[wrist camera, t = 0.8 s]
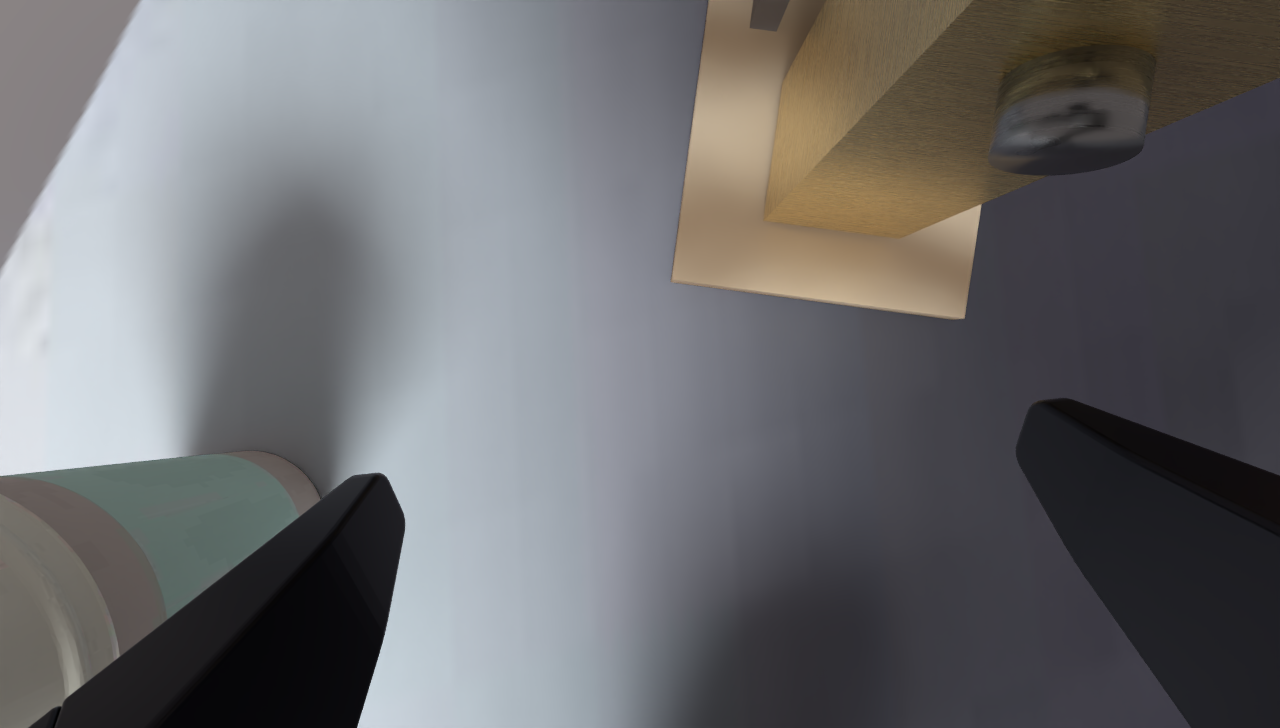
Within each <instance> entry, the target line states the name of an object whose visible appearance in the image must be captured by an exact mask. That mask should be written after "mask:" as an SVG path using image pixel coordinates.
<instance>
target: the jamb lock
mask: <svg viewBox="0 0 1280 728" xmlns="http://www.w3.org/2000/svg"><path fill="white" fill-rule="evenodd" d="M825 1H826V0H708V8H707V15H706V23H705V30H704V38H703V45H702V53H701V60H700V67H699V75H698V82H697V90H696V97H695V105H694V112H693V120H692V127H691V134H690V142H689V149H688V157H687V164H686V172H685V179H684V187H683V194H682V202H681V209H680V216H679V224H678V231H677V239H676V246H675V254H674V261H673V269H672V276H671V282H674V283H681V284H689V285H696V286H704V287H711V288H719V289H726V290H734V291H741V292H749V293H756V294H764V295H771V296H779V297H786V298H794V299H801V300H809V301H816V302H824V303H831V304H839V305H846V306H854V307H861V308H869V309H876V310H884V311H891V312H899V313H906V314H914V315H921V316H929V317H936V318H944V319H951V320H954V319H964V318H965V311H966V304H967V298H968V291H969V284H970V278H971V271H972V264H973V258H974V251H975V244H976V238H977V231H978V224H979V218H980V211H981V204H980V205H978V206H976V207H973V208H971V209H969V210H966V211H964V212H962V213H959V214H957V215H954V216H952V217H950V218H947V219H945V220H943V221H940V222H938V223H936V224H933V225H931V226H929V227H926V228H924V229H921V230H919V231H917V232H914V233H912V234H910V235H907V236H905V237H903V238H900V239H897V238H889V237H882V236H874V235H867V234H859V233H852V232H844V231H837V230H829V229H822V228H814V227H807V226H799V225H792V224H784V223H777V222H769V221H763V219H764V212H765V205H766V197H767V190H768V183H769V176H770V168H771V161H772V154H773V147H774V140H775V132H776V125H777V118H778V111H779V104H780V96H781V89H782V82H783V81H784V79H785V77H786V75H787V73H788V71H789V69H790V67H791V65H792V64H793V62H794V60H795V58H796V56H797V54H798V52H799V50H800V48H801V47H802V45H803V43H804V41H805V39H806V37H807V35H808V33H809V31H810V30H811V28H812V26H813V24H814V22H815V20H816V18H817V16H818V14H819V13H820V11H821V9H822V7H823V5H824V3H825Z"/></svg>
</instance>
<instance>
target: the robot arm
mask: <svg viewBox="0 0 1280 728" xmlns="http://www.w3.org/2000/svg"><path fill="white" fill-rule="evenodd" d="M1016 457H1017V461H1018V463H1019V466H1020V467H1021V469H1022V471H1023V473H1024V474H1025V476H1026V478H1027V480H1028V481H1029V483H1030V485H1031V487H1032V489H1033V490H1034V492H1035V494H1036V496H1037V497H1038V499H1039V501H1040V503H1041V504H1042V506H1043V508H1044V510H1045V511H1046V513H1047V515H1048V517H1049V518H1050V520H1051V522H1052V524H1053V525H1054V527H1055V529H1056V531H1057V533H1058V534H1059V536H1060V538H1061V540H1062V541H1063V543H1064V545H1065V546H1066V548H1067V550H1068V551H1069V553H1070V555H1071V556H1072V558H1073V560H1074V561H1075V563H1076V564H1077V566H1078V567H1079V569H1080V570H1081V572H1082V573H1083V575H1084V576H1085V578H1086V579H1087V581H1088V582H1089V583H1090V585H1091V586H1092V588H1093V589H1094V590H1095V592H1096V593H1097V595H1098V596H1099V598H1100V599H1101V600H1102V602H1103V603H1104V605H1105V606H1106V607H1107V609H1108V610H1109V612H1110V613H1111V615H1112V616H1113V617H1114V619H1115V620H1116V622H1117V623H1118V624H1119V626H1120V627H1121V629H1122V630H1123V632H1124V633H1125V634H1126V636H1127V637H1128V639H1129V640H1130V641H1131V643H1132V644H1133V646H1134V647H1135V649H1136V650H1137V651H1138V653H1139V654H1140V656H1141V657H1142V658H1143V660H1144V661H1145V663H1146V664H1147V665H1148V667H1149V668H1150V670H1151V671H1152V673H1153V674H1154V675H1155V677H1156V678H1157V680H1158V681H1159V682H1160V684H1161V685H1162V687H1163V688H1164V690H1165V691H1166V692H1167V694H1168V695H1169V697H1170V698H1171V699H1172V701H1173V702H1174V704H1175V705H1176V707H1177V708H1178V709H1179V711H1180V712H1181V714H1182V715H1183V716H1184V718H1185V719H1186V721H1187V722H1188V724H1189V725H1190V726H1191V728H1280V476H1279V475H1276V474H1274V473H1271V472H1268V471H1266V470H1263V469H1260V468H1257V467H1255V466H1252V465H1249V464H1247V463H1244V462H1241V461H1238V460H1236V459H1233V458H1230V457H1227V456H1225V455H1222V454H1219V453H1217V452H1214V451H1211V450H1208V449H1206V448H1203V447H1200V446H1197V445H1195V444H1192V443H1189V442H1187V441H1184V440H1181V439H1178V438H1176V437H1173V436H1170V435H1168V434H1165V433H1162V432H1159V431H1157V430H1154V429H1151V428H1148V427H1146V426H1143V425H1140V424H1138V423H1135V422H1132V421H1129V420H1127V419H1124V418H1121V417H1118V416H1116V415H1113V414H1110V413H1108V412H1105V411H1102V410H1099V409H1097V408H1094V407H1091V406H1089V405H1086V404H1083V403H1080V402H1078V401H1075V400H1072V399H1068V398H1058V399H1049V400H1040V401H1037V402H1035V403H1033V404H1032V405H1031V406H1030V407H1029V409H1028V412H1027V415H1026V418H1025V421H1024V424H1023V427H1022V430H1021V433H1020V436H1019V439H1018V442H1017V445H1016ZM404 533H405V518H404V514H403V511H402V509H401V506H400V504H399V502H398V500H397V498H396V495H395V493H394V491H393V489H392V487H391V484H390V482H389V480H388V479H387V477H386V476H385V475H384V474H381V473H370V474H361V475H355V476H352V477H350V478H348V479H347V480H345V481H344V482H343V483H342V484H340V485H339V486H338V487H337V488H335V489H334V490H333V491H331V492H330V493H329V494H328V495H326V496H325V497H324V498H322V499H321V500H320V501H319V502H317V503H316V504H315V505H313V506H312V507H311V508H310V509H308V510H307V511H306V512H304V513H303V514H302V515H301V516H299V517H298V518H297V519H295V520H294V521H293V522H292V523H290V524H289V525H288V526H286V527H285V528H284V529H283V530H281V531H280V532H279V533H277V534H276V535H275V536H274V537H272V538H271V539H270V540H268V541H267V542H266V543H265V544H263V545H262V546H261V547H259V548H258V549H257V550H256V551H254V552H253V553H252V554H251V555H249V556H248V557H247V558H245V559H244V560H243V561H242V562H240V563H239V564H238V565H236V566H235V567H234V568H233V569H231V570H230V571H229V572H227V573H226V574H225V575H224V576H222V577H221V578H220V579H218V580H217V581H216V582H215V583H213V584H212V585H211V586H209V587H208V588H207V589H206V590H204V591H203V592H202V593H200V594H199V595H198V596H197V597H195V598H194V599H193V600H191V601H190V602H189V603H188V604H186V605H185V606H184V607H182V608H181V609H180V610H179V611H177V612H176V613H175V614H173V615H172V616H171V617H170V618H168V619H167V620H166V621H164V622H163V623H162V624H161V625H159V626H158V627H157V628H155V629H154V630H153V631H152V632H150V633H149V634H148V635H146V636H145V637H144V638H143V639H141V640H140V641H139V642H137V643H136V644H135V645H134V646H132V647H131V648H130V649H128V650H127V651H126V652H125V653H123V654H122V655H121V656H119V657H118V658H117V659H116V660H114V661H113V662H112V663H111V664H109V665H108V666H107V667H105V668H104V669H103V670H102V671H100V672H99V673H98V674H96V675H95V676H94V677H93V678H91V679H90V680H89V681H87V682H86V683H85V684H84V685H82V686H81V687H80V688H78V689H77V690H76V691H75V692H73V693H72V694H71V695H69V696H68V697H67V698H66V699H65V700H64V701H63V703H62V706H56V707H54V708H52V709H51V710H50V711H49V712H47V713H46V714H45V715H43V716H42V717H41V718H40V719H38V720H37V721H36V722H35V723H33V724H32V725H31V726H29V727H28V728H357V726H358V723H359V719H360V716H361V713H362V709H363V706H364V703H365V700H366V696H367V693H368V690H369V686H370V683H371V680H372V676H373V673H374V670H375V667H376V663H377V660H378V657H379V653H380V650H381V646H382V643H383V639H384V635H385V631H386V626H387V622H388V617H389V612H390V607H391V601H392V596H393V591H394V585H395V580H396V575H397V570H398V564H399V559H400V554H401V548H402V543H403V538H404Z"/></svg>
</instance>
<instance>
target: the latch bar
mask: <svg viewBox="0 0 1280 728" xmlns="http://www.w3.org/2000/svg"><path fill="white" fill-rule="evenodd" d="M1277 78H1280V0H826V1H825V3H824V5H823V7H822V9H821V11H820V13H819V14H818V16H817V18H816V20H815V22H814V24H813V26H812V28H811V30H810V31H809V33H808V35H807V37H806V39H805V41H804V43H803V45H802V47H801V48H800V50H799V52H798V54H797V56H796V58H795V60H794V62H793V64H792V65H791V67H790V69H789V71H788V73H787V75H786V77H785V79H784V81H783V82H782V89H781V96H780V104H779V111H778V118H777V125H776V132H775V140H774V147H773V154H772V161H771V168H770V176H769V183H768V190H767V197H766V205H765V212H764V219H763V221H769V222H777V223H784V224H792V225H799V226H807V227H814V228H822V229H829V230H837V231H844V232H852V233H859V234H867V235H874V236H882V237H889V238H897V239H900V238H903V237H905V236H907V235H910V234H912V233H914V232H917V231H919V230H921V229H924V228H926V227H929V226H931V225H933V224H936V223H938V222H940V221H943V220H945V219H947V218H950V217H952V216H954V215H957V214H959V213H962V212H964V211H966V210H969V209H971V208H973V207H976V206H978V205H980V204H983V203H985V202H987V201H990V200H992V199H995V198H997V197H999V196H1002V195H1004V194H1006V193H1009V192H1011V191H1013V190H1016V189H1018V188H1020V187H1023V186H1025V185H1028V184H1030V183H1032V182H1035V181H1037V180H1039V179H1042V178H1044V177H1046V176H1049V175H1065V174H1075V173H1082V172H1089V171H1094V170H1099V169H1103V168H1107V167H1110V166H1114V165H1117V164H1120V163H1122V162H1125V161H1127V160H1129V159H1131V158H1133V157H1135V156H1136V155H1137V154H1139V153H1140V152H1141V151H1142V149H1143V146H1144V140H1145V134H1148V133H1150V132H1152V131H1155V130H1157V129H1160V128H1162V127H1164V126H1167V125H1169V124H1171V123H1174V122H1176V121H1178V120H1181V119H1183V118H1185V117H1188V116H1190V115H1193V114H1195V113H1197V112H1200V111H1202V110H1204V109H1207V108H1209V107H1211V106H1214V105H1216V104H1218V103H1221V102H1223V101H1226V100H1228V99H1230V98H1233V97H1235V96H1237V95H1240V94H1242V93H1244V92H1247V91H1249V90H1251V89H1254V88H1256V87H1259V86H1261V85H1263V84H1266V83H1268V82H1270V81H1273V80H1275V79H1277Z"/></svg>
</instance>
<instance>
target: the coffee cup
mask: <svg viewBox="0 0 1280 728" xmlns="http://www.w3.org/2000/svg"><path fill="white" fill-rule="evenodd" d="M320 500H321V499H320V496H319V494H318V492H317V490H316V489H315V487H314V485H313V484H312V482H311V481H310V480H309V478H308V477H307V476H306V475H305V474H304V473H303V472H302V471H301V470H300V469H299V468H297V467H296V466H295V465H293V464H292V463H290V462H289V461H287V460H285V459H283V458H281V457H279V456H276V455H273V454H270V453H266V452H261V451H239V452H229V453H218V454H207V455H198V456H188V457H179V458H169V459H160V460H150V461H141V462H131V463H121V464H112V465H102V466H93V467H83V468H74V469H64V470H55V471H45V472H35V473H26V474H16V475H7V476H0V728H28V727H29V726H31V725H32V724H33V723H35V722H36V721H37V720H38V719H40V718H41V717H42V716H43V715H45V714H46V713H47V712H49V711H50V710H51V709H52V708H54V707H56V706H62V703H63V701H64V700H65V699H66V698H67V697H68V696H69V695H71V694H72V693H73V692H75V691H76V690H77V689H78V688H80V687H81V686H82V685H84V684H85V683H86V682H87V681H89V680H90V679H91V678H93V677H94V676H95V675H96V674H98V673H99V672H100V671H102V670H103V669H104V668H105V667H107V666H108V665H109V664H111V663H112V662H113V661H114V660H116V659H117V658H118V657H119V656H121V655H122V654H123V653H125V652H126V651H127V650H128V649H130V648H131V647H132V646H134V645H135V644H136V643H137V642H139V641H140V640H141V639H143V638H144V637H145V636H146V635H148V634H149V633H150V632H152V631H153V630H154V629H155V628H157V627H158V626H159V625H161V624H162V623H163V622H164V621H166V620H167V619H168V618H170V617H171V616H172V615H173V614H175V613H176V612H177V611H179V610H180V609H181V608H182V607H184V606H185V605H186V604H188V603H189V602H190V601H191V600H193V599H194V598H195V597H197V596H198V595H199V594H200V593H202V592H203V591H204V590H206V589H207V588H208V587H209V586H211V585H212V584H213V583H215V582H216V581H217V580H218V579H220V578H221V577H222V576H224V575H225V574H226V573H227V572H229V571H230V570H231V569H233V568H234V567H235V566H236V565H238V564H239V563H240V562H242V561H243V560H244V559H245V558H247V557H248V556H249V555H251V554H252V553H253V552H254V551H256V550H257V549H258V548H259V547H261V546H262V545H263V544H265V543H266V542H267V541H268V540H270V539H271V538H272V537H274V536H275V535H276V534H277V533H279V532H280V531H281V530H283V529H284V528H285V527H286V526H288V525H289V524H290V523H292V522H293V521H294V520H295V519H297V518H298V517H299V516H301V515H302V514H303V513H304V512H306V511H307V510H308V509H310V508H311V507H312V506H313V505H315V504H316V503H317V502H319V501H320Z"/></svg>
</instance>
